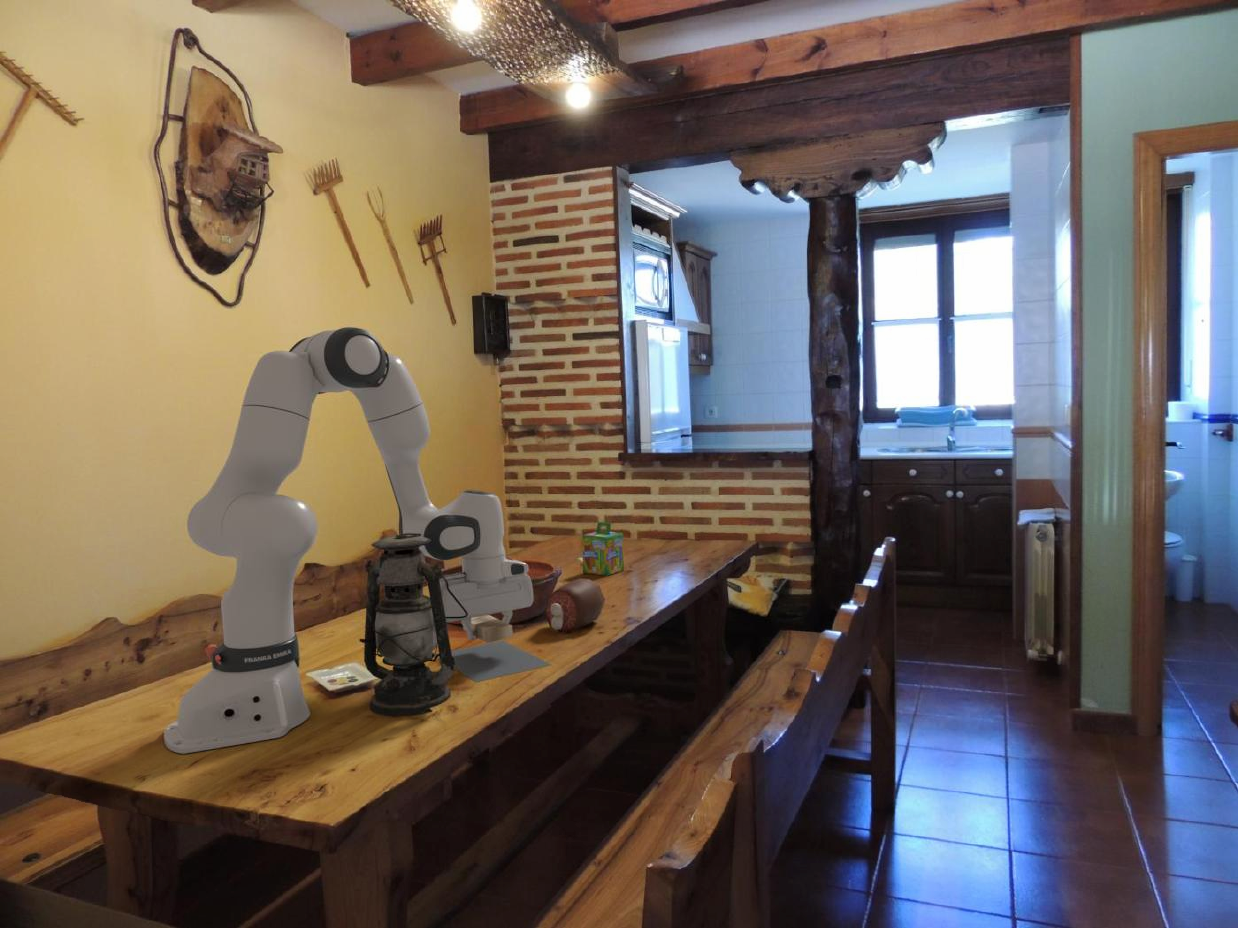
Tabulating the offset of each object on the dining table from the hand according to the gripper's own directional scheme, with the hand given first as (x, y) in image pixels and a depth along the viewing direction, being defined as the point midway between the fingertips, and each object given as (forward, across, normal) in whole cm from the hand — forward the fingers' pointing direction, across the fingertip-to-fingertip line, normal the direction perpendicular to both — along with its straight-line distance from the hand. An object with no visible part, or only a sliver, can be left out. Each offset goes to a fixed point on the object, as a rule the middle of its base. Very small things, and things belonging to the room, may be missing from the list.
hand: (488, 635), depth 180 cm
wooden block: (-2, 0, -6) cm, 6 cm away
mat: (+5, -1, -3) cm, 6 cm away
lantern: (+5, -20, -13) cm, 25 cm away
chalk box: (+5, +63, +56) cm, 84 cm away
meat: (+5, +26, +9) cm, 28 cm away
